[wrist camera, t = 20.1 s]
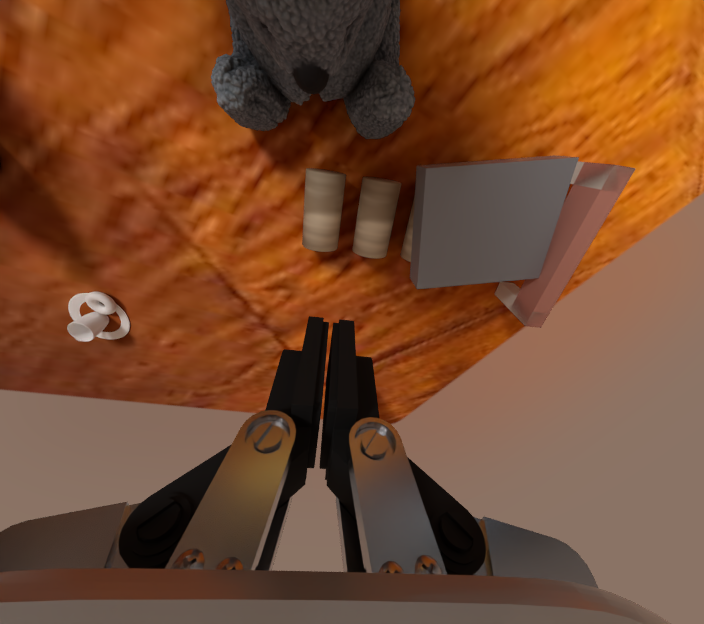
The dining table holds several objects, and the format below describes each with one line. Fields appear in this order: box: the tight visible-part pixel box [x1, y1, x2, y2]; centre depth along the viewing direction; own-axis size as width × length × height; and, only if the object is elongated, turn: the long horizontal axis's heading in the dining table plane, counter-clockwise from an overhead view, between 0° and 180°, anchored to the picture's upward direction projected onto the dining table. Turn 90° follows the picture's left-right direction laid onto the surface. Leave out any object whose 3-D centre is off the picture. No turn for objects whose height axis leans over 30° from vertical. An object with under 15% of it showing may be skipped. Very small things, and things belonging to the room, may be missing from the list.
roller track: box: [302, 168, 415, 262], centre depth 32 cm, size 10×25×4 cm, turn 82°
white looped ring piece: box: [68, 292, 130, 341], centre depth 39 cm, size 9×8×4 cm
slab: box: [410, 156, 579, 289], centre depth 29 cm, size 12×14×3 cm
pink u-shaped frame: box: [495, 162, 635, 328], centre depth 32 cm, size 17×2×8 cm, turn 172°
